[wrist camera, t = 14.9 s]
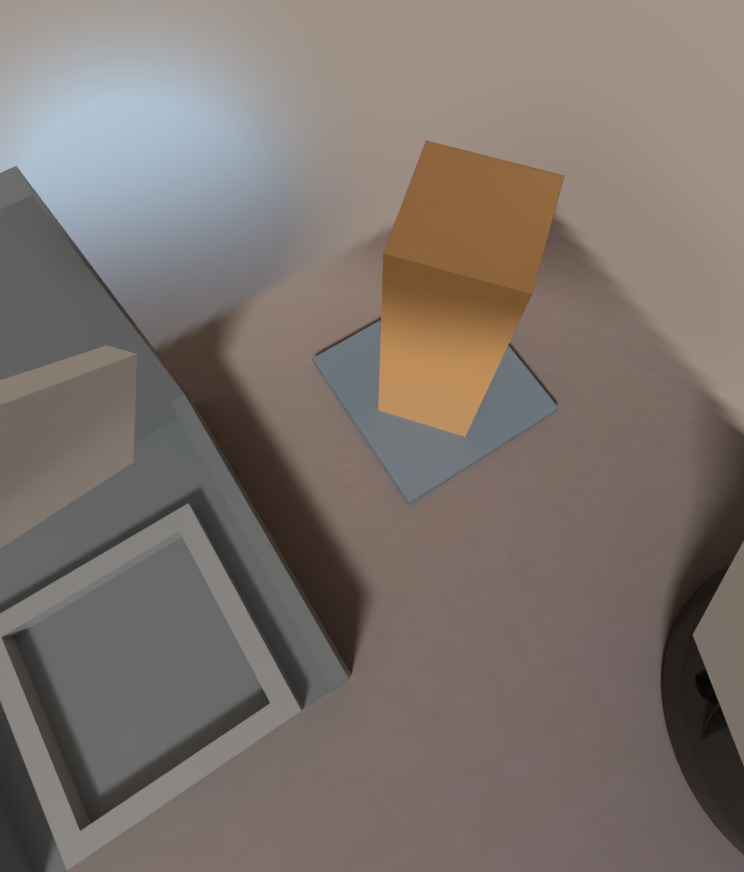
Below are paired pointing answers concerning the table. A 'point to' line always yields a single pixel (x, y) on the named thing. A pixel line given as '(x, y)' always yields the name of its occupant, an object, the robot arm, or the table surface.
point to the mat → (421, 444)
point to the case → (130, 590)
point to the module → (458, 281)
